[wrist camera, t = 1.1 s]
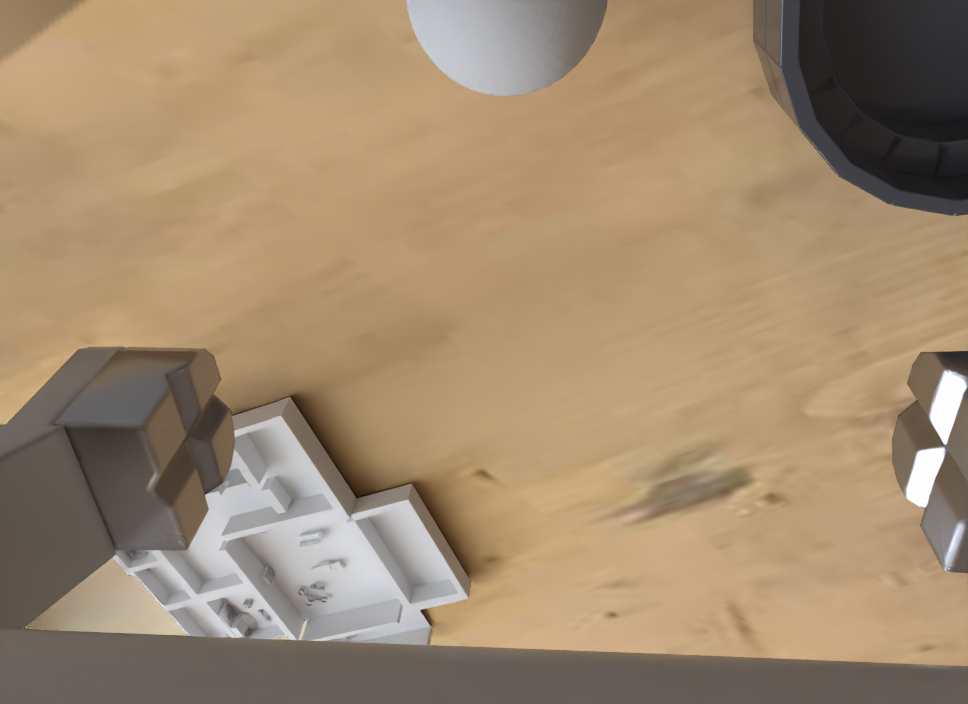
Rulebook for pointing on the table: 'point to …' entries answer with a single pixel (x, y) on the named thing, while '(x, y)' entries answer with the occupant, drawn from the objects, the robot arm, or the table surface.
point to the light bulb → (506, 40)
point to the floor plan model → (302, 549)
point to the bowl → (876, 91)
